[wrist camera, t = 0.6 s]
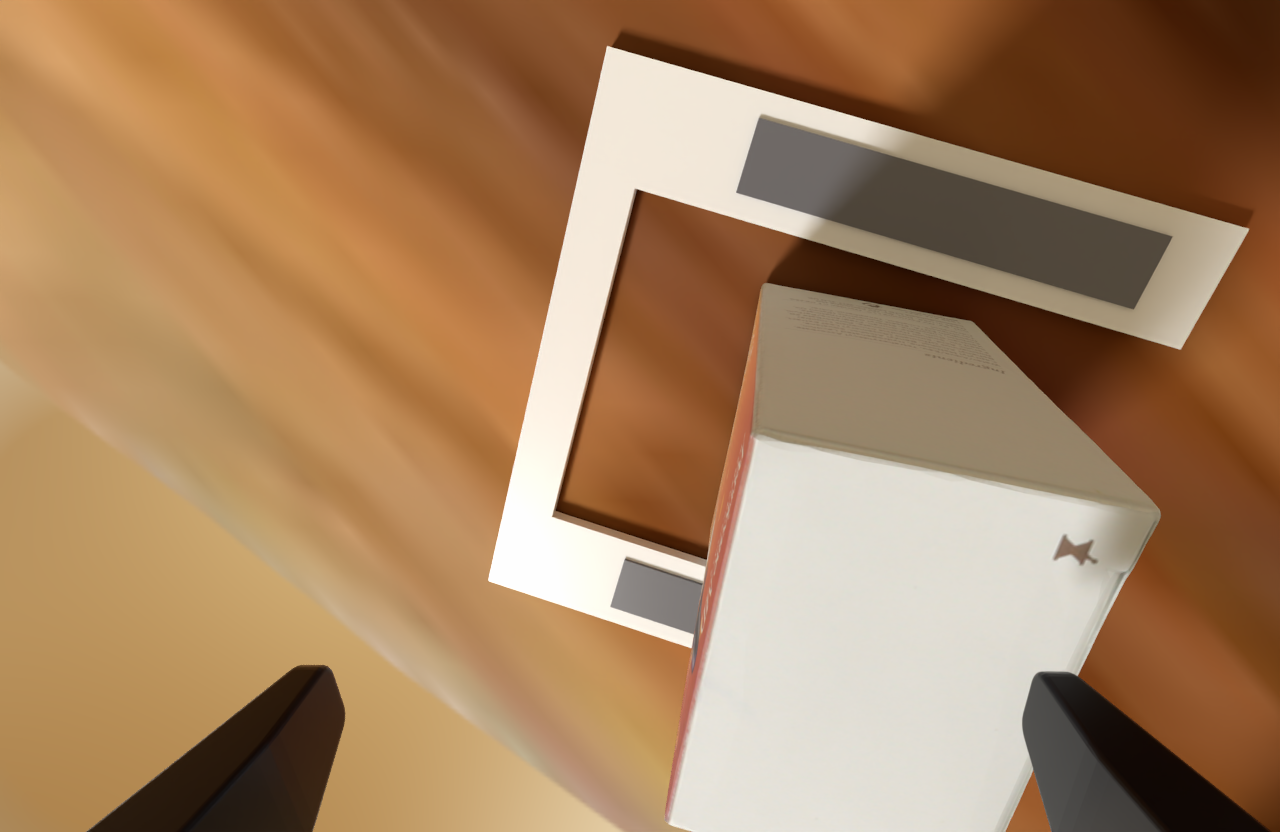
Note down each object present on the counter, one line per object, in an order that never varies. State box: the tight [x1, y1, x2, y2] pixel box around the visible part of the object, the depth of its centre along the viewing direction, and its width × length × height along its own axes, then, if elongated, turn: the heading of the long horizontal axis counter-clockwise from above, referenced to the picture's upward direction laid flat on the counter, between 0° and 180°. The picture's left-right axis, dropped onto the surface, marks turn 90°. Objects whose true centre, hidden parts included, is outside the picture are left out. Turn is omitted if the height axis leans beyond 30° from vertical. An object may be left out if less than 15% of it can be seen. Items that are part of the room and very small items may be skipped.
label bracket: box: [488, 46, 1249, 648], centre depth 21 cm, size 16×16×1 cm
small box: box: [665, 283, 1161, 832], centre depth 16 cm, size 8×6×10 cm
